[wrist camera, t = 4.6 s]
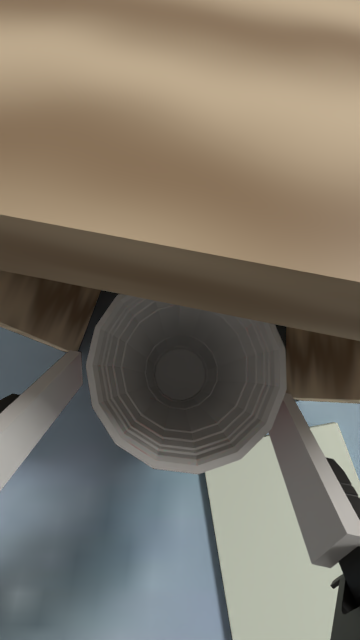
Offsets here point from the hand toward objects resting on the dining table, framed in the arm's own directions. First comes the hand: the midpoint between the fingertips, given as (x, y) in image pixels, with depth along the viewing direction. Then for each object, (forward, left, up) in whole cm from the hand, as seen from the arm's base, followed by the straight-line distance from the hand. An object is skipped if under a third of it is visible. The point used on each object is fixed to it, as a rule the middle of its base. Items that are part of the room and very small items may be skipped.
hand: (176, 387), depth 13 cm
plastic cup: (+1, -1, -8) cm, 9 cm away
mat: (-13, -9, -8) cm, 17 cm away
